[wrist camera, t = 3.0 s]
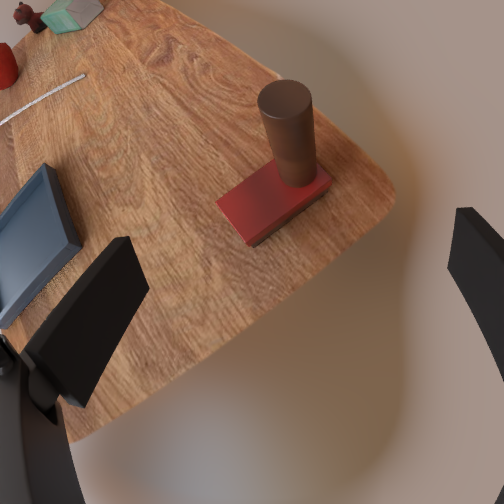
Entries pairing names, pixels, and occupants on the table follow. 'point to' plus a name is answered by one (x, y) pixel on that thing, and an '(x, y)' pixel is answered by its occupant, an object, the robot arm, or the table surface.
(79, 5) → the box
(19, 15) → the stuffed fox
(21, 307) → the tray
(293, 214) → the brown cylinder on base
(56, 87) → the brush
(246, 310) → the table surface
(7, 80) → the apple
